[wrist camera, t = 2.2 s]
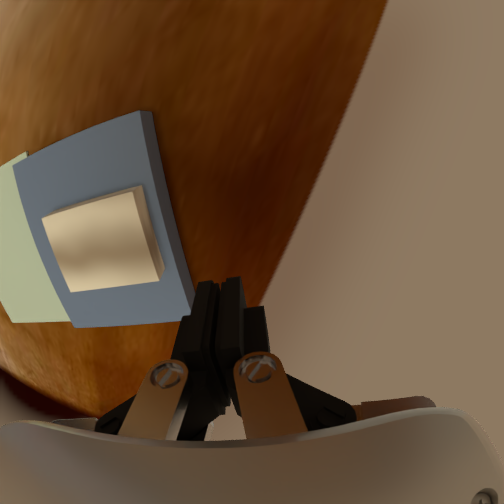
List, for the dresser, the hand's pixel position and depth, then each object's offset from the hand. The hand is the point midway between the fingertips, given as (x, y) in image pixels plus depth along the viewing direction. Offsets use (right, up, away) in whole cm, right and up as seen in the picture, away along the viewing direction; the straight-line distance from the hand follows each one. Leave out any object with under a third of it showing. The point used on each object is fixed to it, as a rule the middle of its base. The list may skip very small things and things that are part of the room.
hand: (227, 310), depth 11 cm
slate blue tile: (-13, +5, +12) cm, 18 cm away
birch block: (-11, +3, +10) cm, 15 cm away
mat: (-28, +2, +13) cm, 31 cm away
